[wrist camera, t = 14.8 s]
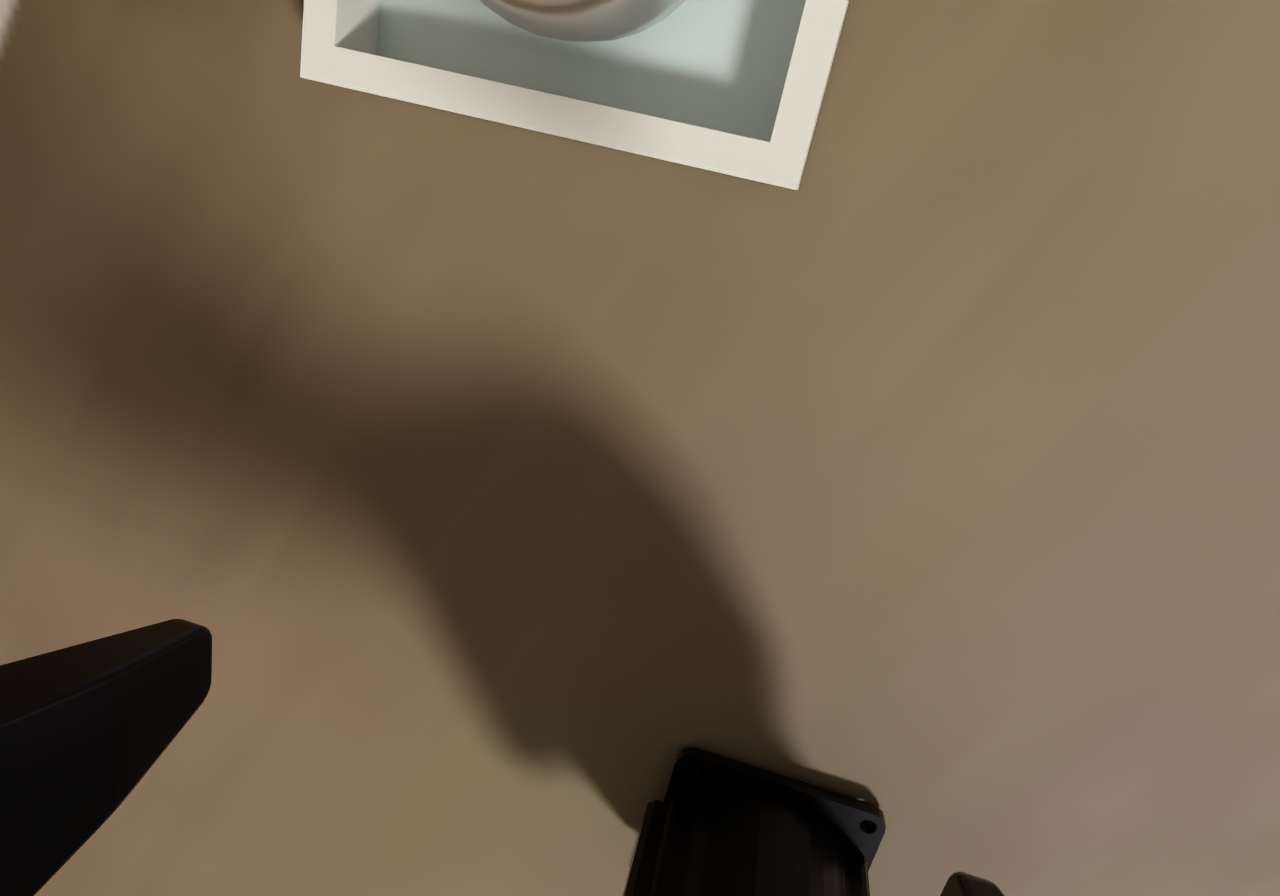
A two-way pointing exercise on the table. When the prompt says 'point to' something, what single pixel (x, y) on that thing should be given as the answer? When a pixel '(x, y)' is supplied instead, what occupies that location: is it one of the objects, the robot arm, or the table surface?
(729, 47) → the tray
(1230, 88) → the table surface
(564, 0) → the plastic bottle
